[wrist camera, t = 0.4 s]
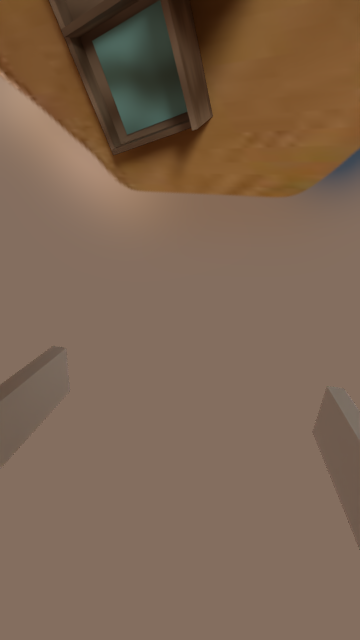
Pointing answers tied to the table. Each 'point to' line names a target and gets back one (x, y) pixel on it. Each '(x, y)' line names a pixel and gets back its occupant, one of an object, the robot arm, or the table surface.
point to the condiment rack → (137, 66)
